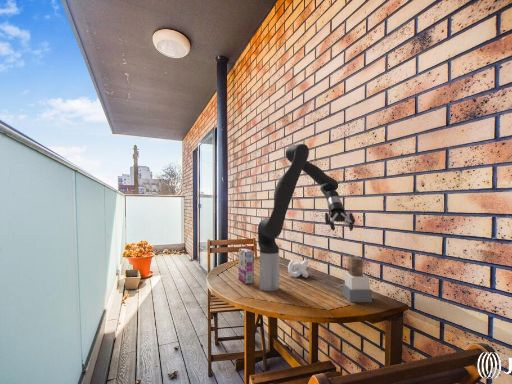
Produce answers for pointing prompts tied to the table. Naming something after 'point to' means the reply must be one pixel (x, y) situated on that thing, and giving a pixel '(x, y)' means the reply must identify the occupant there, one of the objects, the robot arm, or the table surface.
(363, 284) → the tower top block
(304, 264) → the white knot sculpture
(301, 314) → the table surface
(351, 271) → the walnut block
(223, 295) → the table surface
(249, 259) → the candy bar box
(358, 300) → the tower base block
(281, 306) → the table surface
